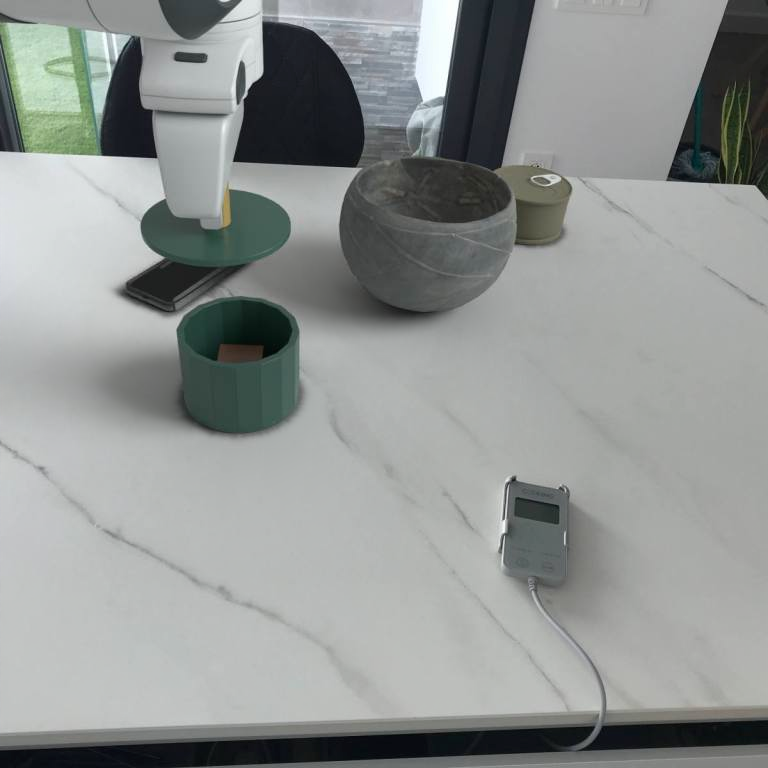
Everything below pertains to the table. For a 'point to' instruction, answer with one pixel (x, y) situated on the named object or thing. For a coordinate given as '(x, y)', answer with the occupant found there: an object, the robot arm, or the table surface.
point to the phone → (175, 283)
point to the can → (537, 202)
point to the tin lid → (219, 232)
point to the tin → (239, 364)
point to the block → (240, 353)
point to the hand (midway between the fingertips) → (215, 214)
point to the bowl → (427, 231)
